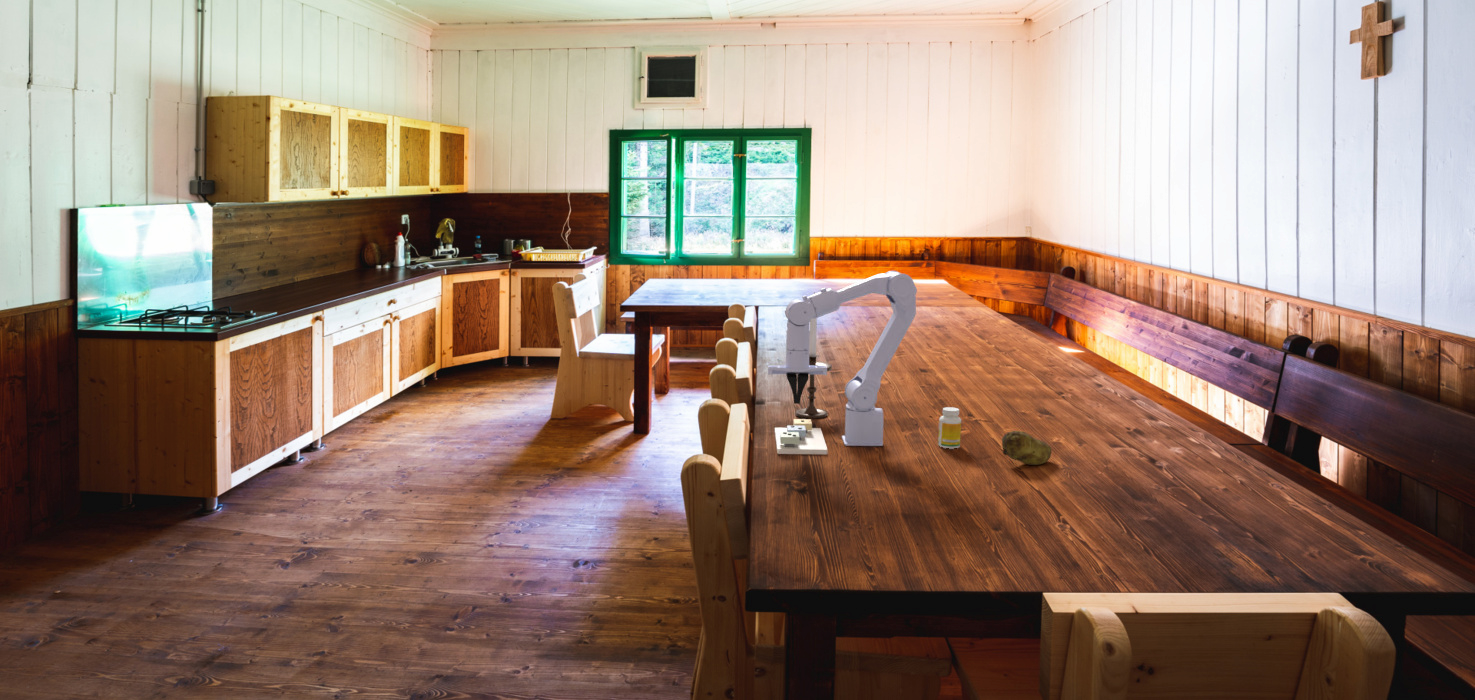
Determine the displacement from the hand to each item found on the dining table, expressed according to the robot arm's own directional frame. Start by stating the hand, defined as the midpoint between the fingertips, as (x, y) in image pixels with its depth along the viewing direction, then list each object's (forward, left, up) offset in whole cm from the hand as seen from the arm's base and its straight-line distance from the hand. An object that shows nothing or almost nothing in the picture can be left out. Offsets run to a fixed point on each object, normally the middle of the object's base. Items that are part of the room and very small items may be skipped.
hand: (796, 402), depth 221 cm
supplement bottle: (-38, +1, -11) cm, 39 cm away
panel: (-1, -1, -10) cm, 10 cm away
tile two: (0, 0, -8) cm, 8 cm away
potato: (-53, +15, -11) cm, 56 cm away
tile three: (+2, +7, -8) cm, 11 cm away
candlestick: (-6, -30, -11) cm, 32 cm away
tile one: (-2, -7, -8) cm, 11 cm away
